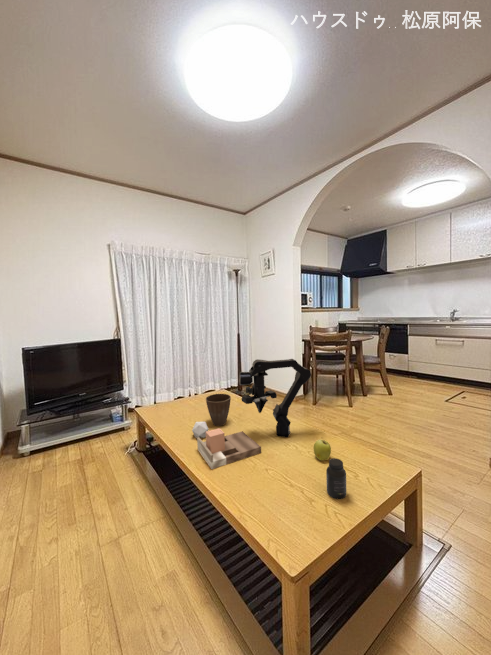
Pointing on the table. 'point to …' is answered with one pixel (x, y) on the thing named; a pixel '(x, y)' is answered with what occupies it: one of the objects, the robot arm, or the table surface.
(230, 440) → the brown piece
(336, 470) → the supplement bottle
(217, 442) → the block
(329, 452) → the apple
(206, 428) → the die
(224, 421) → the plant pot
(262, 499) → the table surface
